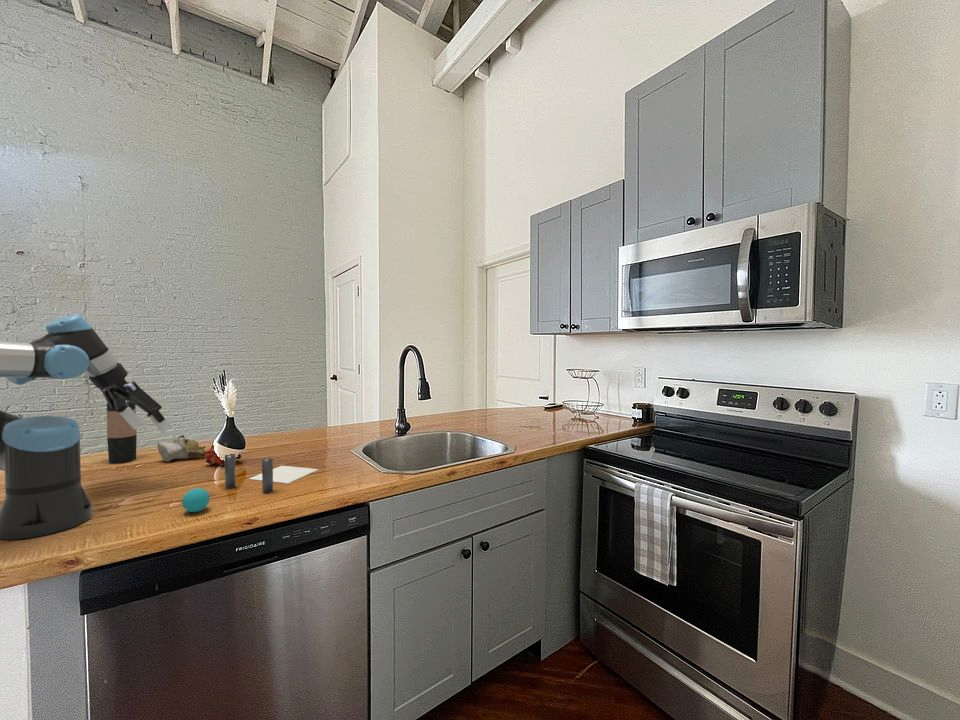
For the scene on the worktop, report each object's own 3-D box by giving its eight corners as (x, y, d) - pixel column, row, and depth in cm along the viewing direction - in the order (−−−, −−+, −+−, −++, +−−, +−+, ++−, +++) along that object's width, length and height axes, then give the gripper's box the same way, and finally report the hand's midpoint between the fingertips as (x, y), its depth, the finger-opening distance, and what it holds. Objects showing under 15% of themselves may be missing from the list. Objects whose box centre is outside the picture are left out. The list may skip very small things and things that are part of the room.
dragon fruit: (246, 467, 143) (204, 477, 138) (244, 448, 149) (205, 457, 144) (241, 451, 138) (197, 460, 133) (240, 432, 144) (198, 440, 139)
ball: (194, 517, 99) (194, 493, 98) (176, 514, 100) (176, 491, 100) (215, 508, 104) (214, 486, 104) (197, 506, 105) (197, 484, 105)
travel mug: (120, 464, 140) (118, 404, 139) (101, 463, 142) (100, 403, 141) (143, 458, 148) (141, 401, 147) (125, 457, 149) (123, 400, 148)
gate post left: (230, 489, 117) (229, 457, 117) (222, 488, 118) (222, 456, 118) (238, 486, 120) (237, 454, 120) (230, 485, 121) (230, 454, 120)
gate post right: (268, 493, 114) (267, 460, 114) (260, 492, 115) (259, 459, 114) (275, 490, 117) (274, 458, 116) (267, 489, 117) (266, 457, 117)
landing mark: (287, 483, 122) (287, 483, 122) (248, 479, 126) (248, 478, 126) (318, 469, 136) (318, 469, 136) (281, 466, 139) (281, 465, 139)
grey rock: (155, 434, 146) (206, 431, 157) (154, 459, 146) (204, 454, 157) (160, 439, 138) (213, 435, 149) (158, 466, 139) (211, 460, 149)
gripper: (144, 361, 112) (190, 422, 123) (92, 361, 121) (138, 417, 132) (116, 378, 106) (167, 440, 117) (63, 376, 116) (115, 433, 127)
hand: (152, 428), depth 125 cm, fingers open, 13 cm apart
